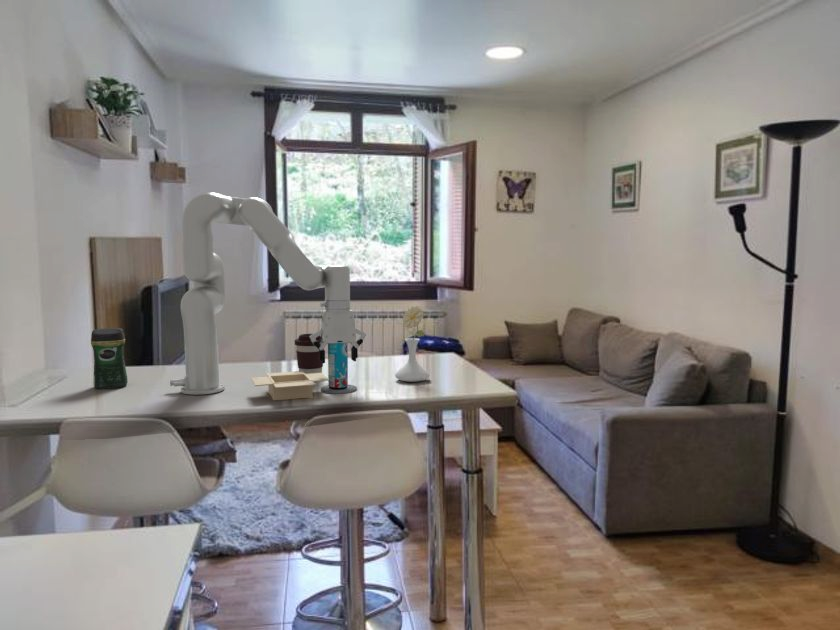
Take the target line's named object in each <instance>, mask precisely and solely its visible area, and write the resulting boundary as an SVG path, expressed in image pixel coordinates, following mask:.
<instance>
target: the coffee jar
mask: <svg viewBox="0 0 840 630" xmlns="http://www.w3.org/2000/svg"><path fill="white" fill-rule="evenodd" d="M90 337H91V338H90V345H91V347H92V350H93V381H92V382H93V387H94V388H95V389H99V390H102V389H103V390H105V389H116V388H121V387H126V386H127V385H128V373H127V367H126V362H125V357H124V355H125V354H124V353H125V352H124V346H125V343H126V338H125V333H124V329H123V328H122V327H121V328H120V327H110V328H109V327H108V328H107V327H105V328H97V329H94V330H92V331H91V336H90Z"/></svg>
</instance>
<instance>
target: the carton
mask: <svg viewBox="0 0 840 630" xmlns="http://www.w3.org/2000/svg"><path fill="white" fill-rule="evenodd" d="M265 375H266V376H257V377H251V378H250V379H251V381H252V383H253V385H254V387H261V386H268V391H267V392H268V393H269V395H270V397H271V399H272V400H273V401H283V400H294V399H306V398H307V399H308V398H313V395H314V394H313V392H314V389H313V386H317V384H316V383H315V382H317V383H318V382H328V381H329V379H328V377H327V376H326V375H325V374H324V373H323V372H322V373H310V374H305V373H304V372H303V371H299V370H298V371H297V370H296V371H287V372H286V371H283V372H282V371H281V372H268V373H265Z"/></svg>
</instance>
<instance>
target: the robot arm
mask: <svg viewBox="0 0 840 630" xmlns="http://www.w3.org/2000/svg"><path fill="white" fill-rule="evenodd" d="M181 222H182V223H181V225H182V227H181V230H182V269H183V273H184V276H185V278H186V279H187V280H189V281H190V282H192V283H193V288H191V289H188V291H186V292H185V293H184V294H183V295H182V298H181V300H180V314H181V319H182V325H183V326H182V327H183V338H184V339H183V340H184V363H185V374H184V377H181V378H179V379H176V378H175V379H170V380H169V386H170V387H181V388H180V393H182V394H184V395H191V396H193V395H194V396H195V395H197V396H198V395H201V396H202V395H210V394H212V395H213V394H217V393H219V392H222V391H224V390H225V387H226V386H225V384H223V383H221V382H220V370H219V368H220V366H219V365H220V364H219V343H218V342H219V339H218V326H217V319H216V315H217V314H218V313H220V312H221V311H222V309H223V308H224V306H225V302H226V301H225V300H226V290H225V289H226V288H225V287H226V285H225V283H226V282H225V267H224V262H223V260H222V258H221V257H220V256H219V255H218V254H217V253H215V252H214V244H213V242H214V237H213V231H212V224H214V223H218V224H225V225H237V226H242V227H243V226H244V227H248V229H249V230H250V231H251V232H252V233H253V235H255V237H256V238H258V239H259V241H260V242H261V243H262V244H263V245H264V246H265V248H266V249H267V250H268V251H269V252H270V254H271V255H272V257H273V258H274V259H275V260H276V262H277V263H278V264H279V266H280V267H281V268H282V269H283V271H284V272H285V273H286V274H287V275H288V276H289V277H290V278H291V280H292V281H294V283H295V284H296V285H297V286H298V287H300V288H301V289H302V290H305V291H312V290H317V289H323V288H324V301H323V302H320V304H319V305H320V307H321V308H324V309H325V310H323V311H322V315H321V324H320V329H319V330H318V331H316V332H314V333H311V334H312V335H310V339H311V341H312V343H313V344H314V345H315V346H316V347H317V348H318V349H319V360H321V363H323V364H325V363H326V350H325V348H326V346H328V344H335V343H347V344H350V345H352V347H351V348H350V351H351V353H350V354H351V355H350V358H351V360H352V361H353V362H357V359H358V357H359V356H358V353H359V352H358V350H359V347H360V346H361V345H362V344H363V343H364V341H365V338H366V336H367V333H366V332H363V331H361V330H359V329H358V328H356V320H355V319H356V318H355V314H354V310H353V309H351V282H350V281H351V276H350V273H351V271H350V268H349V265H348V266H347V265H346V264H345V265H344V264H343V265H342V264H340V265H339V264H334V265H333V264H330V265H321V264H320V265H319V264H314V263H313V262H311V260H310V259H309V258H308V257H307V256H306V255H305V253H303V251H302V250H301V248H300V247H299V246H298V244H297V242H296V239H295V237H294V235H293V233H292V232H291V230H290V229H289V228H288V227H287V226H286V225H285V224H284V223H283V222H282V221H281V220H280V219H279V218H278V217H277V215H276V214H275V212H274V211H273V208H272V206H271V205H270V204H269V202H267V201H266V200H264V199H262V198H259V197H255V196H253V197H247V198H244V197H243V198H242V197H241V198H240V197H234V196H229V195H228V196H227V195H225V194H224V195H223V194H221V193H217V192H203V193H201V194H198V195H196V196H194V197H193V198H192V199H190V201H188V203H187V204H186V206H185V208H184V211H183V213H182V220H181ZM357 335H359V338H358V339H357ZM318 336H321V340H322V341H321V343H320V344H319V343H318V342H317V341H316V337H318ZM337 341H343V342H337Z"/></svg>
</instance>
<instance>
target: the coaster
mask: <svg viewBox="0 0 840 630" xmlns="http://www.w3.org/2000/svg"><path fill="white" fill-rule="evenodd" d="M357 390H358V387H357V386H356V385H353V384H348V386H347V388H345V389H339V390H336V389H330V388H329V386H328V384H327V385H324V386H322V387H320V392H322V393H325V394H329V395H330V394H331V395H343V394H351V393H354V392H357Z"/></svg>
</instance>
